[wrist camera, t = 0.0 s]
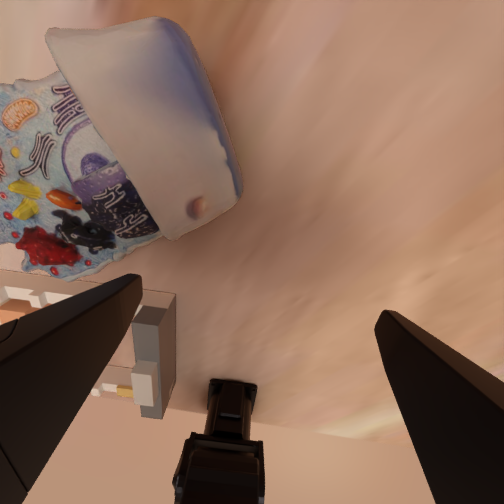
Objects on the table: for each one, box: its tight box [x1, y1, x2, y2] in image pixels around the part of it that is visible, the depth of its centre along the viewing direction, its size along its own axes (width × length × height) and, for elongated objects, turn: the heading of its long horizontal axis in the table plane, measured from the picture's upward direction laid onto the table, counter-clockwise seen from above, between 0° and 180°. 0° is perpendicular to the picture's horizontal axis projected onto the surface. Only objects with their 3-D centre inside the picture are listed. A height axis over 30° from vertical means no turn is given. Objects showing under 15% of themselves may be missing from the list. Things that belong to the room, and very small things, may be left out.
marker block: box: [0, 298, 51, 325], centre depth 29 cm, size 10×7×4 cm
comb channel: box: [0, 269, 176, 419], centre depth 28 cm, size 15×22×6 cm
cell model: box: [0, 16, 243, 282], centre depth 17 cm, size 13×11×20 cm
